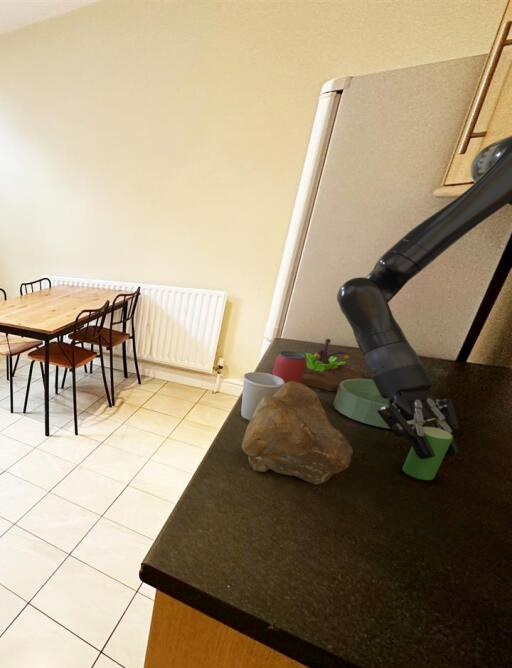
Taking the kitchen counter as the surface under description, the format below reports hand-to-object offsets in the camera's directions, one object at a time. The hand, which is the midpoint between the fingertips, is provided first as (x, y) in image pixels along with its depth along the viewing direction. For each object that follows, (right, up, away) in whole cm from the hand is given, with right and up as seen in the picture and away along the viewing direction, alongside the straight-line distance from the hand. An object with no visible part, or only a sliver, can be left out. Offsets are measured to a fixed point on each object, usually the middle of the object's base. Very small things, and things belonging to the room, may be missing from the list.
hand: (439, 456), depth 75 cm
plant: (+13, +15, +46) cm, 50 cm away
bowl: (+11, +6, +25) cm, 27 cm away
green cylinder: (0, -4, +4) cm, 6 cm away
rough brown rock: (-22, -3, +7) cm, 24 cm away
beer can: (-5, +9, +35) cm, 36 cm away
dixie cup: (-18, +5, +26) cm, 32 cm away
